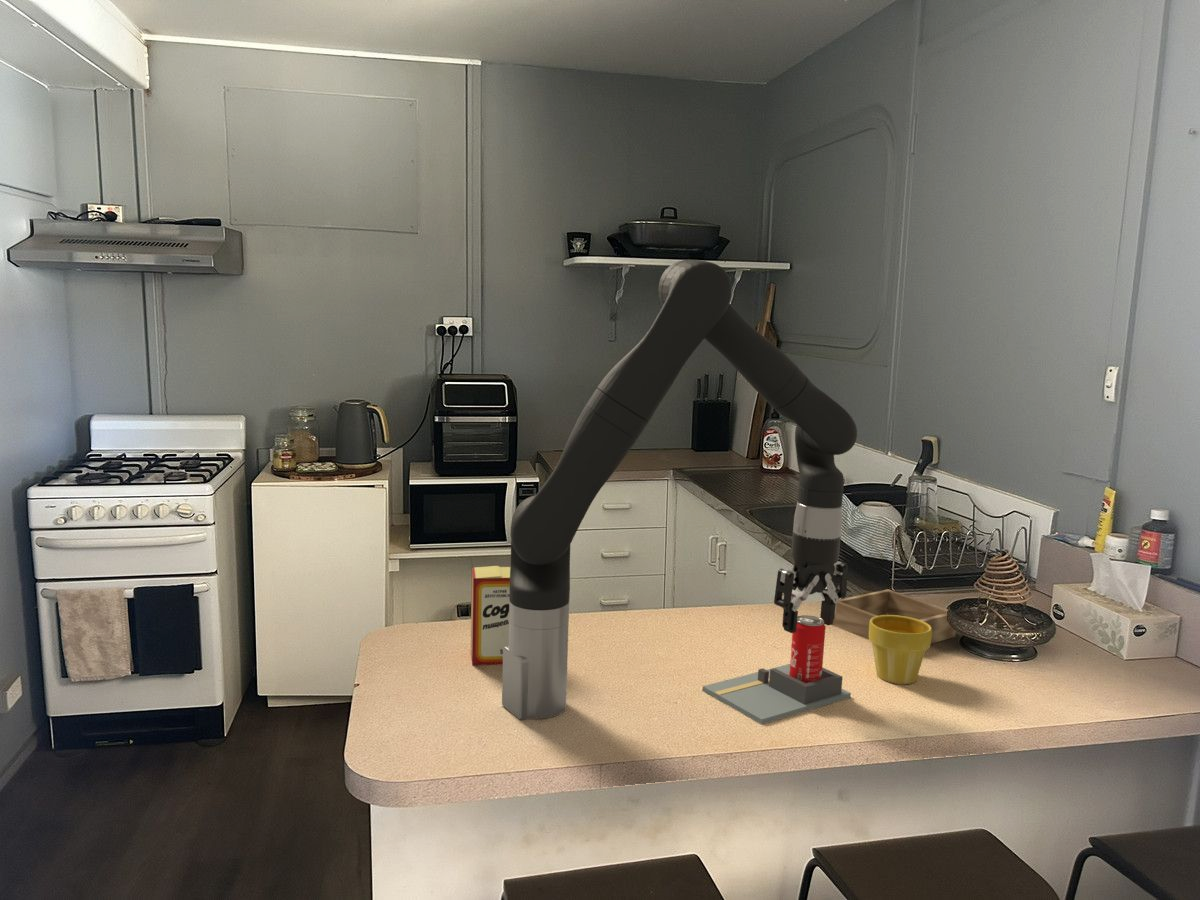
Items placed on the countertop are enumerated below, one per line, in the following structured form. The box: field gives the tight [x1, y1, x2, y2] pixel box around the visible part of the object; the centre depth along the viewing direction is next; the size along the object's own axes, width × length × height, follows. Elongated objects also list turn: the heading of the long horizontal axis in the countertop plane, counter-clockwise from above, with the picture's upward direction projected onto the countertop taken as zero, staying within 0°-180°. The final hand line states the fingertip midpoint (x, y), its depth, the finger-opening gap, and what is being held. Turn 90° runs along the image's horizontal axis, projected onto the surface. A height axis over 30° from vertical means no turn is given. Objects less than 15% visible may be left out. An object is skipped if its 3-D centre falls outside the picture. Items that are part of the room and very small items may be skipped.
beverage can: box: [789, 614, 826, 683], centre depth 148 cm, size 5×5×12 cm
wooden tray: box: [831, 589, 957, 644], centre depth 181 cm, size 17×17×5 cm
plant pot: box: [869, 614, 932, 685], centre depth 157 cm, size 10×10×10 cm
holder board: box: [702, 663, 852, 725], centre depth 148 cm, size 20×14×4 cm
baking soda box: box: [470, 565, 510, 666], centre depth 159 cm, size 10×6×16 cm
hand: (808, 627), depth 147 cm, fingers open, 8 cm apart
